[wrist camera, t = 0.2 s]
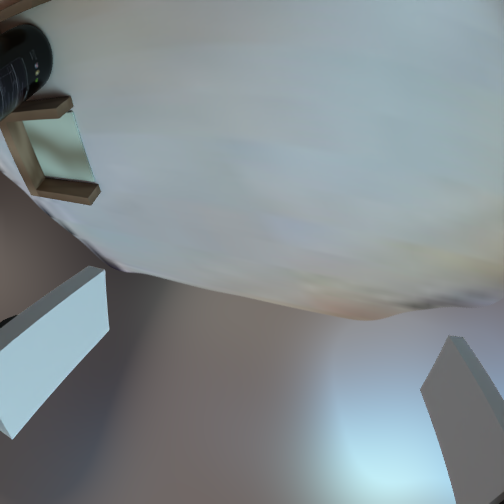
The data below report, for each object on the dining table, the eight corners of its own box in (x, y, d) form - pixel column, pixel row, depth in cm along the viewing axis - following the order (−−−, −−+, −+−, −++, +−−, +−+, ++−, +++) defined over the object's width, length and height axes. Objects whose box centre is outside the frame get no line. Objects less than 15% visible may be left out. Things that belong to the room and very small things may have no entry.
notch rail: (-15, 20, 13) (-30, 28, 12) (50, -11, 12) (31, -4, 11) (40, 183, 30) (31, 195, 29) (100, 191, 29) (91, 205, 28)
